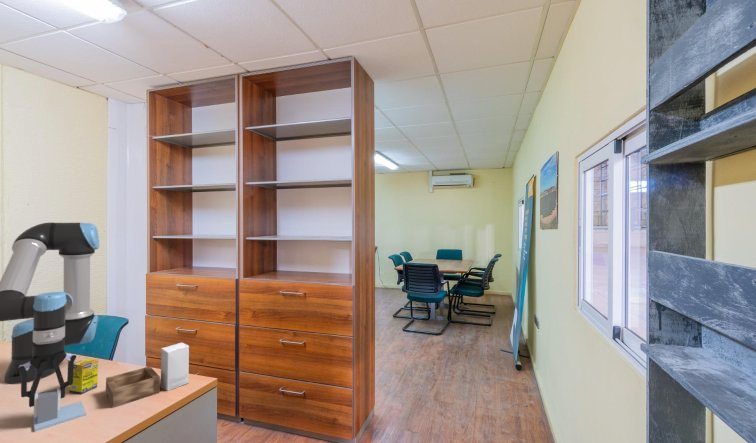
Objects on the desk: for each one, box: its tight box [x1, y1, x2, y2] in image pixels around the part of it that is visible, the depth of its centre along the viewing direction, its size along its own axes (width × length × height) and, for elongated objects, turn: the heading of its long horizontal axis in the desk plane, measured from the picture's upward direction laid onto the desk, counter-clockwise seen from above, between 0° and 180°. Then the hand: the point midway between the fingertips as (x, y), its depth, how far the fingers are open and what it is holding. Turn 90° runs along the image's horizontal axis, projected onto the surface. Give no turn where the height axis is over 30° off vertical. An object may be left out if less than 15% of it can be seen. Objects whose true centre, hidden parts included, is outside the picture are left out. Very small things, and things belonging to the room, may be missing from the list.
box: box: [105, 366, 161, 408], centre depth 125 cm, size 14×13×6 cm
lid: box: [32, 387, 87, 433], centre depth 110 cm, size 12×11×9 cm
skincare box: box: [160, 342, 190, 392], centre depth 132 cm, size 8×7×16 cm
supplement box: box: [69, 357, 99, 395], centre depth 127 cm, size 6×6×11 cm
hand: (47, 411), depth 107 cm, fingers open, 4 cm apart
